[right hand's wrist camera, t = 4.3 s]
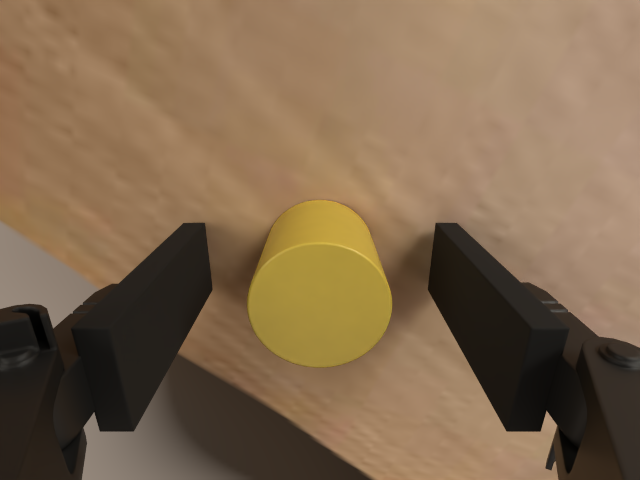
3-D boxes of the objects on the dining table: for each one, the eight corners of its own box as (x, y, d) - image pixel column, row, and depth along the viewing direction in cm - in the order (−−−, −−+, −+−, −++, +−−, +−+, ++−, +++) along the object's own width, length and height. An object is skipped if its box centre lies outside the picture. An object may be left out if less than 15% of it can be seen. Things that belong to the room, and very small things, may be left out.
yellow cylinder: (305, 313, 15) (300, 389, 11) (245, 236, 14) (215, 292, 10) (392, 264, 14) (418, 327, 10) (335, 178, 13) (342, 213, 9)
